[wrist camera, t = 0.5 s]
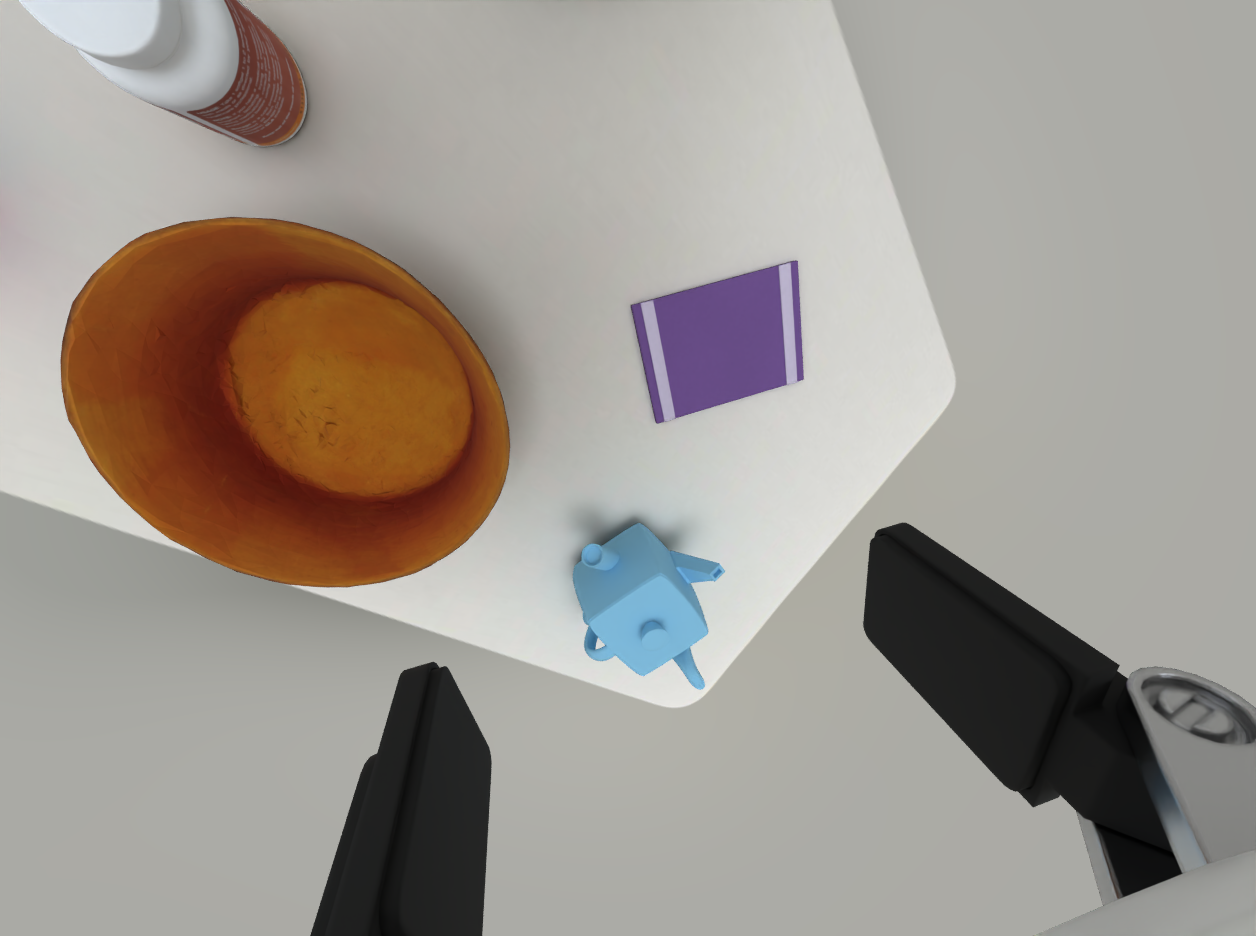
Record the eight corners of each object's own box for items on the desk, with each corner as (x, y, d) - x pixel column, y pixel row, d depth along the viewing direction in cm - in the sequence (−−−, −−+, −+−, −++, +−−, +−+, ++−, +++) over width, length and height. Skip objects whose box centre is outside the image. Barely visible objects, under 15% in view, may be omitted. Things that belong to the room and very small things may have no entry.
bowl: (387, 559, 39) (349, 645, 30) (115, 378, 30) (-58, 427, 21) (566, 402, 37) (581, 446, 28) (333, 153, 28) (244, 100, 19)
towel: (630, 305, 35) (632, 305, 34) (795, 260, 36) (798, 260, 36) (655, 422, 39) (657, 424, 39) (801, 378, 41) (804, 379, 40)
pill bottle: (295, 21, 25) (149, -139, 15) (322, 153, 27) (211, 91, 18) (162, 2, 24) (-94, -186, 14) (202, 143, 26) (10, 70, 16)
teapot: (522, 545, 41) (523, 622, 32) (647, 458, 41) (684, 513, 32) (626, 649, 50) (649, 734, 41) (732, 579, 49) (779, 650, 40)
